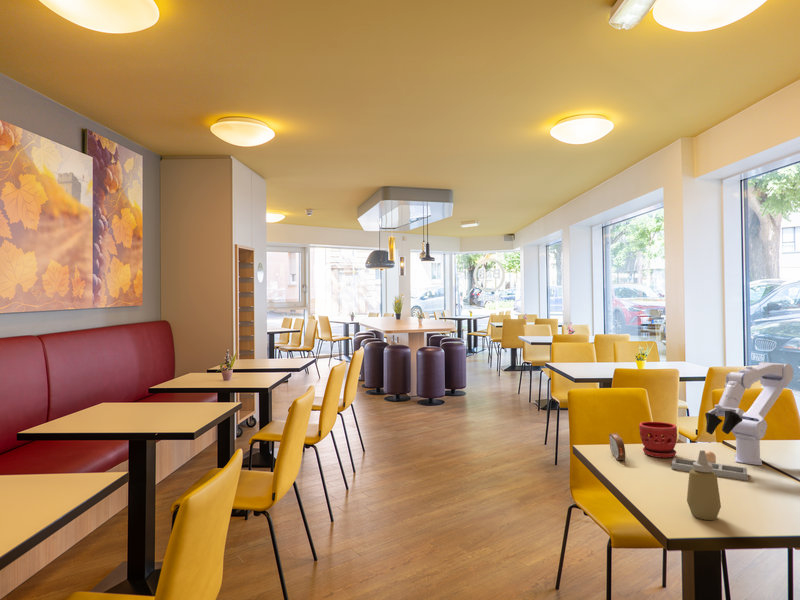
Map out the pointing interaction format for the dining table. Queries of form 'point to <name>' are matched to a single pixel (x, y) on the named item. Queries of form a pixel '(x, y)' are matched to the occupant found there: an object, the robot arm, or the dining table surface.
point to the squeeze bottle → (703, 490)
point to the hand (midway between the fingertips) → (716, 432)
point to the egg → (710, 457)
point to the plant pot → (658, 438)
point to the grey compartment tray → (717, 469)
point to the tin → (617, 446)
